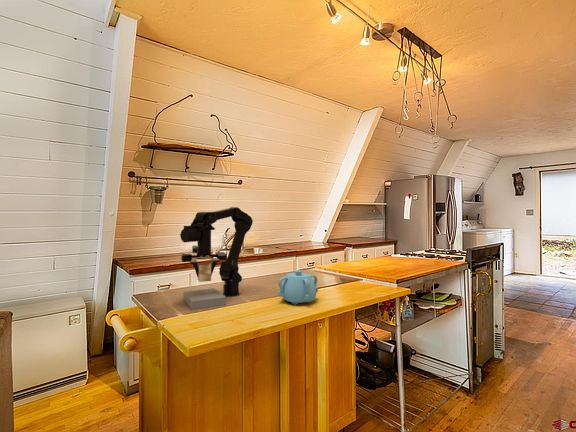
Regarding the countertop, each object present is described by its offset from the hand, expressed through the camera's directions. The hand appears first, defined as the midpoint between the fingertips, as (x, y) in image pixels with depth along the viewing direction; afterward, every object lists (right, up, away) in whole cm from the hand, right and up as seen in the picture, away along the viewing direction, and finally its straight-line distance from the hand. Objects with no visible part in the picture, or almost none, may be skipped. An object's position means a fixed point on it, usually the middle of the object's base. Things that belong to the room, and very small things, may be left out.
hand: (204, 276), depth 137 cm
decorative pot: (+41, -12, +3) cm, 43 cm away
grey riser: (0, -12, 0) cm, 12 cm away
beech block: (0, -2, 0) cm, 2 cm away
